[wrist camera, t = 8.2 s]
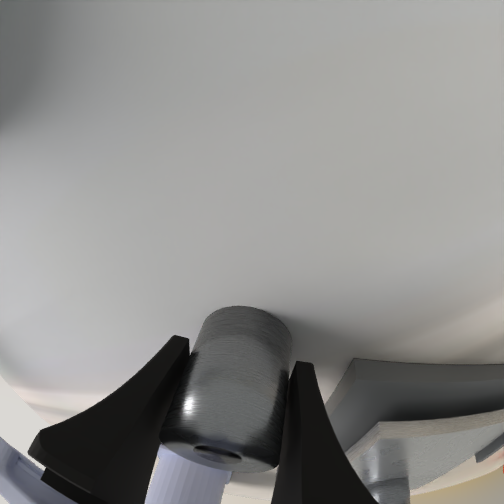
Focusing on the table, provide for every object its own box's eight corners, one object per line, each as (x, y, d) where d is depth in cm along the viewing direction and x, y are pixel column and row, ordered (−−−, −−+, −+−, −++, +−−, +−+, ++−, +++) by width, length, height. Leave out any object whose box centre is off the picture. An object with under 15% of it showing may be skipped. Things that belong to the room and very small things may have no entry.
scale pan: (415, 474, 18) (417, 488, 16) (302, 479, 18) (300, 495, 17) (515, 398, 10) (522, 416, 9) (377, 409, 11) (380, 439, 10)
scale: (420, 466, 20) (423, 494, 16) (277, 468, 21) (272, 502, 18) (538, 361, 11) (556, 400, 7) (353, 358, 12) (360, 431, 9)
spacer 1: (281, 374, 13) (267, 478, 8) (201, 357, 13) (166, 456, 9) (301, 316, 11) (292, 448, 6) (202, 296, 11) (148, 415, 7)
